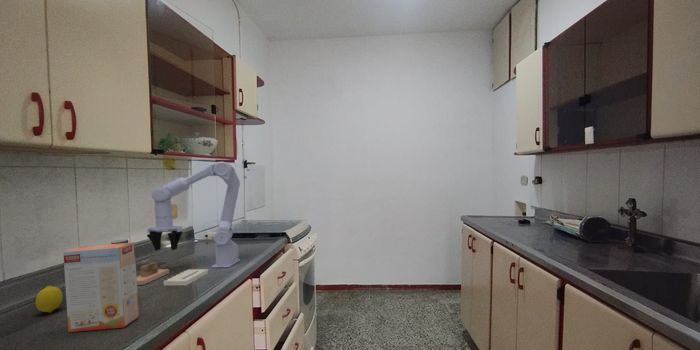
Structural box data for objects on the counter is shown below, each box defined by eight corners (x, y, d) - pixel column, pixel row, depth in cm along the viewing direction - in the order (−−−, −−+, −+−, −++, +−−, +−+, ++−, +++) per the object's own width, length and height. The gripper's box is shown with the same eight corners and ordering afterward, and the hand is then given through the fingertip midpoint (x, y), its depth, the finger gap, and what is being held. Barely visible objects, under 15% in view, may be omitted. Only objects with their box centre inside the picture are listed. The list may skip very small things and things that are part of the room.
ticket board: (187, 273, 112) (187, 269, 112) (208, 273, 111) (208, 269, 111) (163, 285, 101) (163, 280, 101) (186, 285, 99) (186, 280, 99)
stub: (155, 273, 115) (154, 259, 115) (169, 272, 114) (168, 259, 114) (128, 284, 103) (127, 269, 103) (143, 284, 102) (142, 269, 102)
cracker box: (140, 316, 77) (135, 241, 77) (123, 328, 71) (118, 247, 71) (88, 320, 77) (83, 244, 77) (67, 333, 71) (61, 250, 71)
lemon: (60, 306, 88) (58, 281, 87) (66, 310, 85) (64, 283, 85) (34, 315, 83) (32, 288, 83) (39, 319, 80) (37, 291, 80)
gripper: (139, 218, 112) (141, 252, 112) (172, 217, 110) (174, 252, 110) (154, 216, 119) (156, 248, 119) (185, 214, 117) (187, 247, 117)
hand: (166, 249), depth 115 cm, fingers open, 7 cm apart
